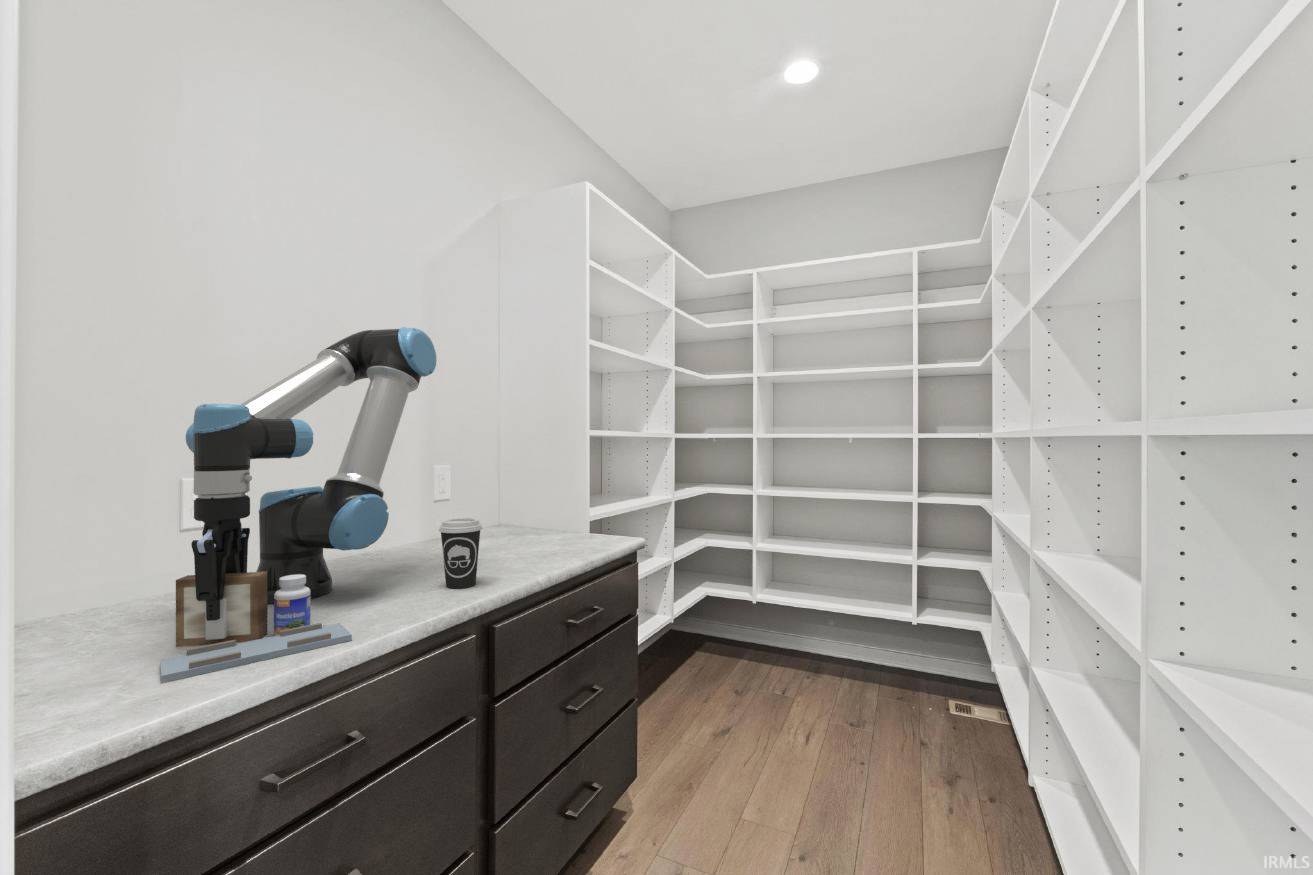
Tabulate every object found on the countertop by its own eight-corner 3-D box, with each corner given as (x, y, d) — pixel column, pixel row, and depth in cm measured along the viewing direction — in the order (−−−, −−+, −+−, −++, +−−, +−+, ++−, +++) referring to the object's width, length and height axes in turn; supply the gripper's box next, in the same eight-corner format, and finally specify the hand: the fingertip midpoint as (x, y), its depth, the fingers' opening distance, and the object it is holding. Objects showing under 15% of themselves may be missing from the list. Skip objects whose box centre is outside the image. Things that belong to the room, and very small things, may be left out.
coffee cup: (491, 583, 130) (491, 519, 130) (457, 593, 122) (456, 524, 122) (464, 578, 136) (464, 516, 136) (429, 587, 128) (429, 521, 128)
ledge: (160, 665, 84) (160, 653, 84) (339, 628, 100) (339, 618, 100) (161, 682, 78) (161, 670, 78) (351, 640, 94) (351, 629, 94)
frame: (175, 647, 91) (175, 580, 91) (187, 640, 94) (187, 575, 94) (258, 641, 94) (258, 576, 94) (267, 634, 97) (267, 571, 97)
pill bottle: (271, 639, 94) (271, 582, 94) (276, 629, 99) (275, 575, 99) (309, 634, 97) (309, 578, 97) (311, 625, 102) (311, 571, 102)
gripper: (221, 500, 87) (221, 650, 87) (270, 490, 103) (270, 617, 103) (165, 501, 85) (165, 654, 85) (223, 491, 101) (224, 620, 101)
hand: (222, 633), depth 94 cm, fingers open, 3 cm apart
